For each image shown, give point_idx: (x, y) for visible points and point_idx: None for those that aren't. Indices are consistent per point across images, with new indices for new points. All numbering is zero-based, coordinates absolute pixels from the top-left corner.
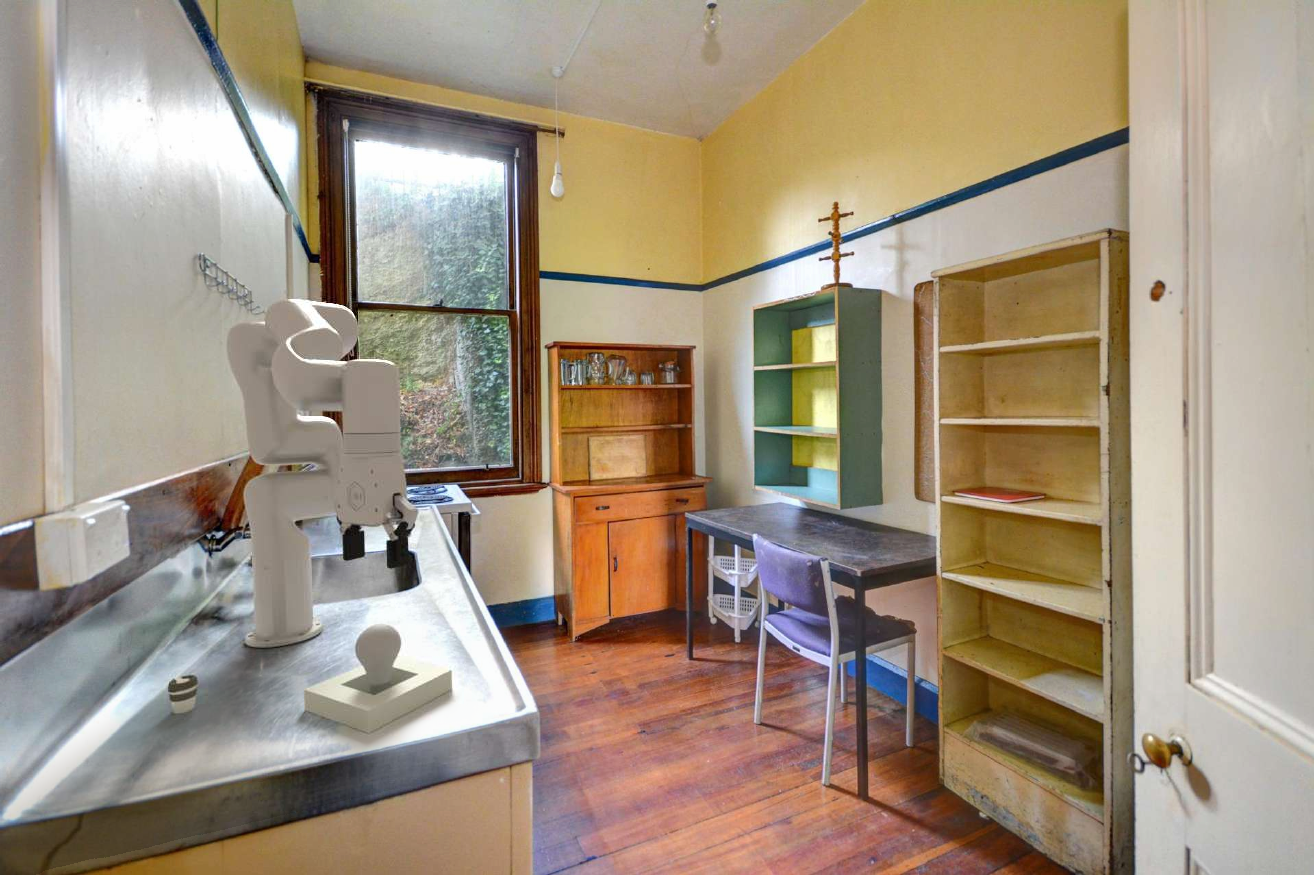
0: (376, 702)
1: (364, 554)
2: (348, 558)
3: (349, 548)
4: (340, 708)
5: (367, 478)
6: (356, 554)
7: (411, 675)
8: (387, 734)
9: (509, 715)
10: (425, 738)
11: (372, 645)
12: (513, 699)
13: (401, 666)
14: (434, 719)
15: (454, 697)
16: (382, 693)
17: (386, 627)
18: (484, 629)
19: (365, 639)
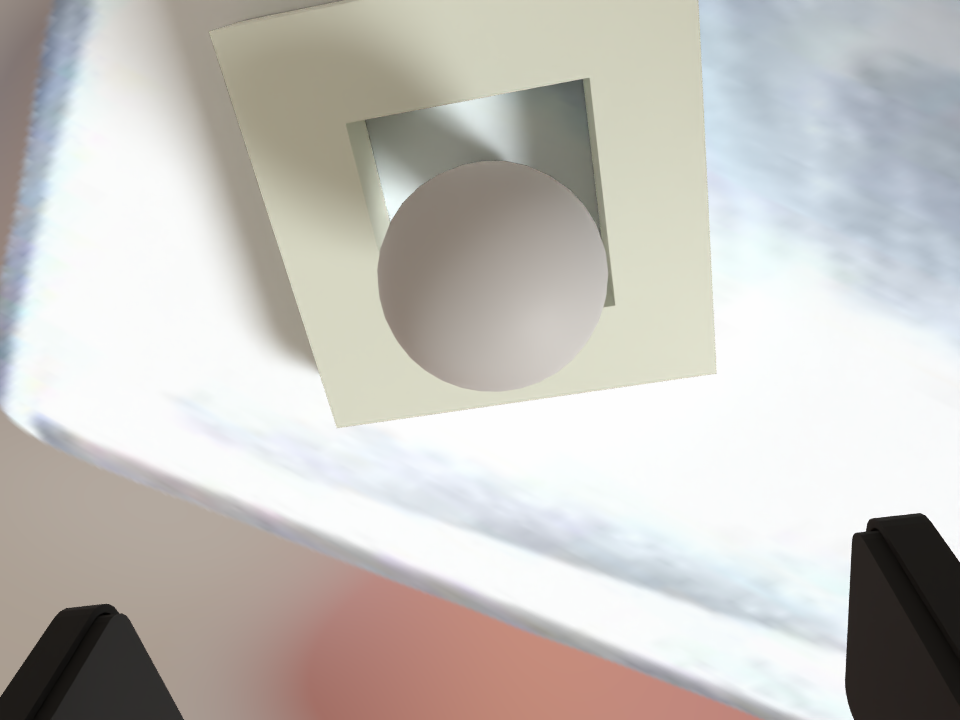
0: (266, 95)
1: (856, 712)
2: (863, 555)
3: (919, 675)
4: None
5: None
6: (867, 658)
7: None
8: (181, 66)
9: (26, 389)
10: (55, 140)
11: (404, 223)
12: (123, 455)
13: None
14: (172, 232)
15: (284, 359)
16: (335, 155)
17: (443, 348)
18: (728, 699)
19: (454, 218)
